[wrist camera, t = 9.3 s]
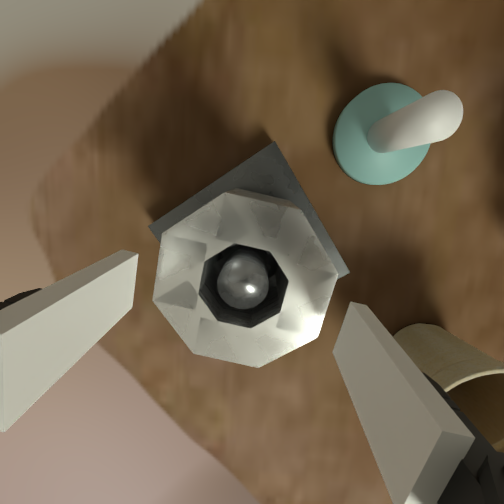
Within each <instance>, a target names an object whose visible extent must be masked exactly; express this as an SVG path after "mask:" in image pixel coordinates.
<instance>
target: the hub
mask: <svg viewBox="0 0 504 504" xmlns="http://www.w3.org/2000/svg"><path fill="white" fill-rule="evenodd" d="M236 188H238V189H242V190H247V191H251V192H255V193H259V194H264V195H268V196H272V197H277V198H281V199H285V200H289V201H291V202H292V203H293V204H294V205H296V206H297V207H298V208H299V209H301V210H302V212H303V213H304V215H305V217H306V219H307V220H308V222H309V224H310V225H311V227H312V229H313V231H314V232H315V234H316V236H317V237H318V239H319V241H320V243H321V244H322V246H323V248H324V250H325V251H326V253H327V255H328V256H329V258H330V260H331V262H332V263H333V265H334V267H335V268H336V270H337V272H338V277H337V279H339V278H341V277H343V276H345V275H346V274H348V273H350V271H349V270H348V268H347V266H346V264H345V263H344V261H343V259H342V257H341V256H340V254H339V252H338V250H337V249H336V247H335V245H334V243H333V242H332V240H331V238H330V236H329V235H328V233H327V231H326V230H325V228H324V226H323V224H322V223H321V221H320V219H319V217H318V216H317V214H316V212H315V210H314V209H313V207H312V205H311V203H310V202H309V200H308V198H307V196H306V195H305V193H304V191H303V189H302V188H301V186H300V184H299V182H298V181H297V179H296V177H295V175H294V174H293V172H292V170H291V168H290V167H289V165H288V163H287V162H286V160H285V158H284V156H283V155H282V153H281V151H280V149H279V148H278V146H277V144H276V142H275V141H274V142H273V143H271V144H270V145H268V146H267V147H265V148H264V149H262V150H261V151H259V152H258V153H256V154H255V155H253V156H252V157H250V158H249V159H247V160H246V161H244V162H243V163H241V164H240V165H238V166H237V167H235V168H234V169H232V170H231V171H229V172H228V173H226V174H225V175H223V176H222V177H220V178H219V179H218V180H216V181H215V182H213V183H212V184H210V185H209V186H207V187H206V188H204V189H203V190H201V191H200V192H198V193H197V194H195V195H194V196H192V197H191V198H189V199H188V200H186V201H185V202H183V203H182V204H180V205H179V206H177V207H176V208H174V209H173V210H171V211H170V212H168V213H167V214H165V215H164V216H162V217H161V218H160V219H158V220H157V221H155V222H154V223H152V224H151V225H149V226H148V227H149V228H150V230H151V231H152V233H153V234H154V235H155V237H156V238H157V240H158V241H159V242H160V244H161V237H162V233H163V232H165V231H166V230H168V229H169V228H171V227H172V226H174V225H175V224H177V223H178V222H180V221H181V220H183V219H185V218H186V217H188V216H189V215H191V214H192V213H194V212H195V211H197V210H198V209H200V208H201V207H203V206H204V205H206V204H207V203H209V202H210V201H212V200H213V199H215V198H216V197H218V196H220V195H221V194H223V193H224V192H227V191H230V190H233V189H236ZM217 261H218V263H219V264H220V266H221V267H222V270H221V272H220V274H219V276H218V280H217V289H218V292H219V295H220V296H221V298H222V299H223V300H224V301H225V302H226V303H227V304H228V305H230V306H232V307H234V308H238V309H249V308H252V307H255V306H257V305H258V304H260V303H261V302H262V301H263V300H264V298H265V297H266V295H267V292H268V287H269V283H268V278H269V277H271V276H273V275H275V273H276V270H277V266H278V263H277V261H276V260H275V258H274V256H273V255H272V253H271V252H270V251H267V250H262V249H258V248H254V247H249V246H245V245H240V244H236V243H234V244H232V245H230V246H229V247H227V248H226V249H224V250H222V251H221V252H219V254H218V259H217Z"/></svg>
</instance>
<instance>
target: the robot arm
mask: <svg viewBox="0 0 504 504" xmlns="http://www.w3.org/2000/svg"><path fill="white" fill-rule="evenodd" d="M138 254H139V253H134V252H130V251H125V250H120V251H118V252H116V253H114V254H112V255H110V256H108V257H106V258H104V259H102V260H100V261H98V262H96V263H94V264H92V265H90V266H88V267H86V268H84V269H82V270H80V271H78V272H76V273H74V274H72V275H70V276H68V277H66V278H64V279H62V280H60V281H58V282H56V283H54V284H52V285H50V286H48V287H46V288H44V289H41V288H38V289H34V290H30V291H27V292H23V293H19V294H17V295H15V296H13V297H11V298H8V299H6V300H5V301H4V302H0V431H1V432H5V431H6V430H7V429H8V428H9V427H10V426H11V425H12V424H13V423H14V422H15V421H16V420H18V419H19V417H21V416H22V415H23V413H24V412H25V411H27V410H28V409H29V408H30V407H31V406H32V405H33V404H34V403H35V402H36V401H37V400H38V399H39V398H40V397H41V396H42V395H43V394H44V393H45V392H46V391H47V390H48V389H49V388H50V387H51V386H52V385H53V384H54V383H55V382H56V381H57V380H58V379H60V378H61V377H62V376H63V374H65V373H66V372H67V371H68V370H69V369H70V368H71V367H72V366H73V365H74V364H75V363H76V362H77V361H78V360H79V359H80V358H81V357H82V356H83V355H84V354H85V353H86V352H87V351H88V350H89V349H90V348H91V347H92V346H93V345H94V344H95V343H96V342H97V341H98V340H99V339H100V338H102V337H103V336H104V335H105V334H106V333H107V332H108V331H109V330H110V329H111V328H112V327H113V326H114V325H115V324H116V323H117V322H118V321H119V320H120V319H121V318H122V317H123V316H124V315H125V314H126V313H127V312H128V311H129V310H130V309H131V308H132V305H133V296H134V288H135V279H136V271H137V262H138ZM333 354H334V357H335V359H336V362H337V364H338V367H339V369H340V372H341V374H342V377H343V379H344V382H345V384H346V387H347V389H348V392H349V394H350V397H351V400H352V402H353V405H354V407H355V410H356V412H357V415H358V417H359V420H360V422H361V425H362V427H363V430H364V432H365V435H366V437H367V440H368V442H369V445H370V447H371V450H372V452H373V455H374V457H375V460H376V462H377V465H378V467H379V470H380V472H381V475H382V477H383V480H384V482H385V485H386V487H387V490H388V492H389V495H390V497H391V500H392V502H393V504H504V453H503V452H497V451H496V450H495V449H494V448H493V447H492V445H491V444H490V443H489V442H488V441H487V440H486V438H485V437H484V436H483V435H482V434H481V433H480V431H479V430H478V429H477V428H476V427H475V426H474V424H473V423H472V422H471V421H470V420H469V419H468V417H467V416H466V415H465V414H464V413H463V412H461V411H460V408H459V407H458V406H457V405H456V403H455V402H454V401H453V400H451V398H450V396H449V395H448V394H447V393H446V392H445V391H444V389H443V388H442V387H441V386H440V385H439V384H438V383H437V382H435V381H434V380H433V379H432V378H430V377H429V376H428V375H427V374H425V373H423V372H421V371H420V370H419V368H418V367H417V366H416V365H415V364H414V362H413V361H412V360H411V359H410V357H409V356H408V355H407V354H406V353H405V351H404V350H403V349H402V348H401V346H400V345H399V344H398V343H397V342H396V340H395V339H394V338H393V337H392V335H391V334H390V333H389V332H388V331H387V329H386V328H385V327H384V326H383V325H382V323H381V322H380V321H379V320H378V318H377V317H376V316H375V315H374V314H373V312H372V311H371V310H370V309H369V307H368V306H367V305H364V304H359V303H355V302H351V301H350V304H349V307H348V310H347V313H346V316H345V319H344V321H343V324H342V327H341V330H340V333H339V336H338V338H337V341H336V344H335V347H334V350H333Z"/></svg>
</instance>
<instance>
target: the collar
mask: <svg viewBox="0 0 504 504" xmlns="http://www.w3.org/2000/svg"><path fill="white" fill-rule="evenodd" d="M234 243H236V244H240V245H245V246H249V247H254V248H258V249H262V250H267V251H270V252H271V253H272V255H273V256H274V258H275V260H276V261H277V263H278V266H277V270H276V273H275V275H273V276H271V277H269V278H268V283H269V287H268V292H267V295H266V297H265V298H264V300H263V301H262V302H261V303H260V304H258V305H257V306H255V307H252V308H249V309H238V308H234V307H232V306H230V305H228V304H227V303H226V302H225V301H224V300H223V299H222V298H221V296H220V295H219V292H218V289H217V280H218V276H219V274H220V272H221V270H222V267H221V266H220V264H219V263H218V261H217V259H218V254H219V252H221V251H222V250H224V249H226V248H227V247H229V246H230V245H232V244H234ZM337 277H338V272H337V270H336V268H335V267H334V265H333V263H332V262H331V260H330V258H329V256H328V255H327V253H326V251H325V250H324V248H323V246H322V244H321V243H320V241H319V239H318V237H317V236H316V234H315V232H314V231H313V229H312V227H311V225H310V224H309V222H308V220H307V219H306V217H305V215H304V213H303V212H302V210H301V209H299V208H298V207H297V206H296V205H294V204H293V203H292V202H291V201H289V200H285V199H281V198H277V197H272V196H268V195H264V194H259V193H255V192H251V191H247V190H242V189H238V188H236V189H233V190H230V191H227V192H224V193H223V194H221V195H220V196H218V197H216V198H215V199H213V200H212V201H210V202H209V203H207V204H206V205H204V206H203V207H201V208H200V209H198V210H197V211H195V212H194V213H192V214H191V215H189V216H188V217H186V218H185V219H183V220H181V221H180V222H178V223H177V224H175V225H174V226H172V227H171V228H169V229H168V230H166V231H165V232H163V233H162V237H161V244H160V252H159V259H158V266H157V273H156V280H155V287H154V294H153V302H154V303H155V304H156V306H157V307H158V308H159V310H160V311H161V312H162V314H163V315H164V316H165V317H166V319H167V320H168V321H169V323H170V324H171V325H172V327H173V328H174V329H175V330H176V332H177V333H178V334H179V336H180V337H181V338H182V340H183V341H184V342H185V343H186V345H187V346H188V347H189V349H190V350H191V351H192V353H193V354H198V355H202V356H207V357H212V358H216V359H221V360H225V361H230V362H234V363H239V364H243V365H248V366H252V367H257V368H259V367H261V366H263V365H265V364H267V363H269V362H271V361H273V360H275V359H277V358H279V357H281V356H283V355H285V354H287V353H289V352H290V351H292V350H294V349H296V348H298V347H300V346H302V345H304V344H306V343H308V342H310V341H312V340H314V339H316V338H317V337H318V335H319V332H320V329H321V326H322V323H323V319H324V316H325V313H326V310H327V307H328V304H329V301H330V298H331V295H332V292H333V289H334V286H335V283H336V280H337Z"/></svg>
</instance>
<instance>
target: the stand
mask: <svg viewBox="0 0 504 504" xmlns="http://www.w3.org/2000/svg"><path fill="white" fill-rule="evenodd" d="M462 117H463V106H462V103H461V101H460V99H459V97H458V96H457V95H456V94H454V93H453V92H451V91H447V90H438V91H435V92H432V93H430V94H428V95H426V96H424V97H422V96H421V95H420V94H419V93H418V92H416V91H415V90H414V89H412V88H410V87H408V86H406V85H402V84H398V83H383V84H378V85H375V86H372V87H370V88H368V89H366V90H364V91H363V92H361V93H360V94H359V95H357V96H356V97H355V98H354V99H353V100H352V101H351V102H350V103H349V104H347V106H346V107H345V108H344V109H343V111H342V112H341V114H340V116H339V118H338V120H337V122H336V125H335V128H334V132H333V152H334V155H335V159H336V161H337V163H338V165H339V166H340V168H341V169H342V171H343V172H344V173H345V174H346V175H347V176H349V177H350V178H352V179H353V180H355V181H357V182H360V183H364V184H371V185H383V184H389V183H393V182H395V181H398V180H400V179H402V178H404V177H405V176H407V175H408V174H410V173H411V172H412V171H413V170H414V169H415V168H416V167H417V166H418V165H419V164H420V163H421V161H422V160H423V158H424V157H425V155H426V153H427V151H428V149H429V146H430V143H433V142H438V141H442V140H444V139H446V138H448V137H450V136H451V135H452V134H453V133H454V132H455V131H456V130H457V128H458V127H459V125H460V123H461V120H462Z"/></svg>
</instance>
